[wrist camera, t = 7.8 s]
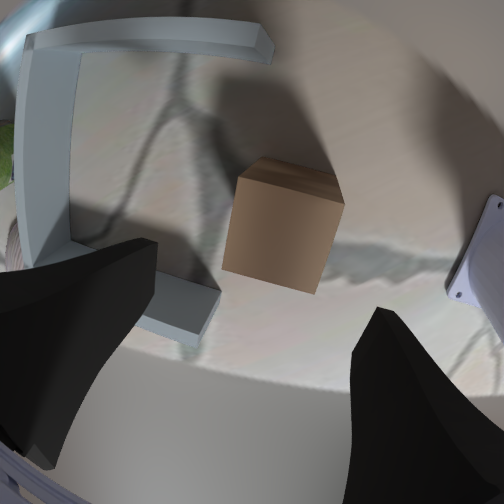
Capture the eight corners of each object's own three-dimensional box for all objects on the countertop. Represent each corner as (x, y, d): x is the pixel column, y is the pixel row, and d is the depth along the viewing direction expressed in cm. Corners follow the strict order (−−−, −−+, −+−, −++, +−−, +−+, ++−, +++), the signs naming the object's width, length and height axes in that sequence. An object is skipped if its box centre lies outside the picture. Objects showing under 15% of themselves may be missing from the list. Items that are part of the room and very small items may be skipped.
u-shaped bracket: (275, 46, 15) (260, 23, 10) (219, 304, 23) (197, 348, 19) (74, 39, 16) (26, 34, 12) (62, 248, 24) (25, 274, 20)
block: (336, 175, 18) (344, 204, 12) (316, 242, 20) (314, 294, 14) (262, 156, 18) (238, 176, 13) (247, 224, 20) (221, 269, 15)
